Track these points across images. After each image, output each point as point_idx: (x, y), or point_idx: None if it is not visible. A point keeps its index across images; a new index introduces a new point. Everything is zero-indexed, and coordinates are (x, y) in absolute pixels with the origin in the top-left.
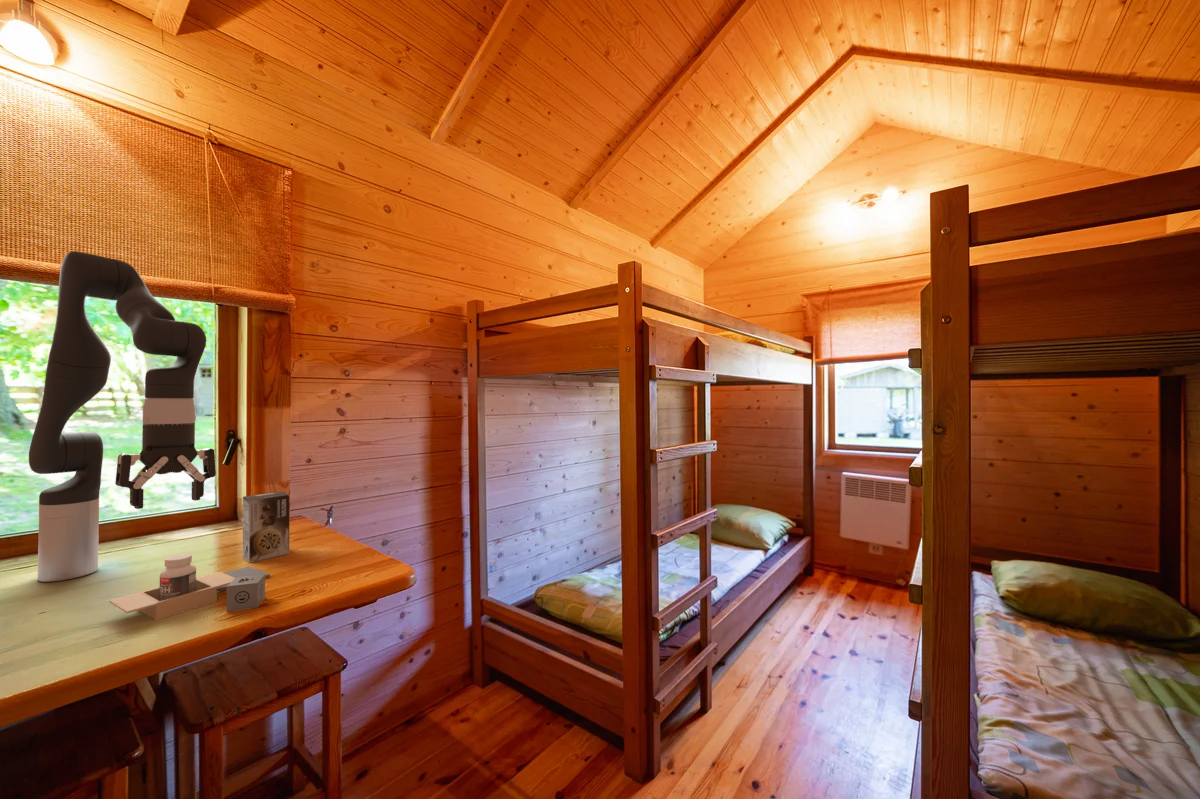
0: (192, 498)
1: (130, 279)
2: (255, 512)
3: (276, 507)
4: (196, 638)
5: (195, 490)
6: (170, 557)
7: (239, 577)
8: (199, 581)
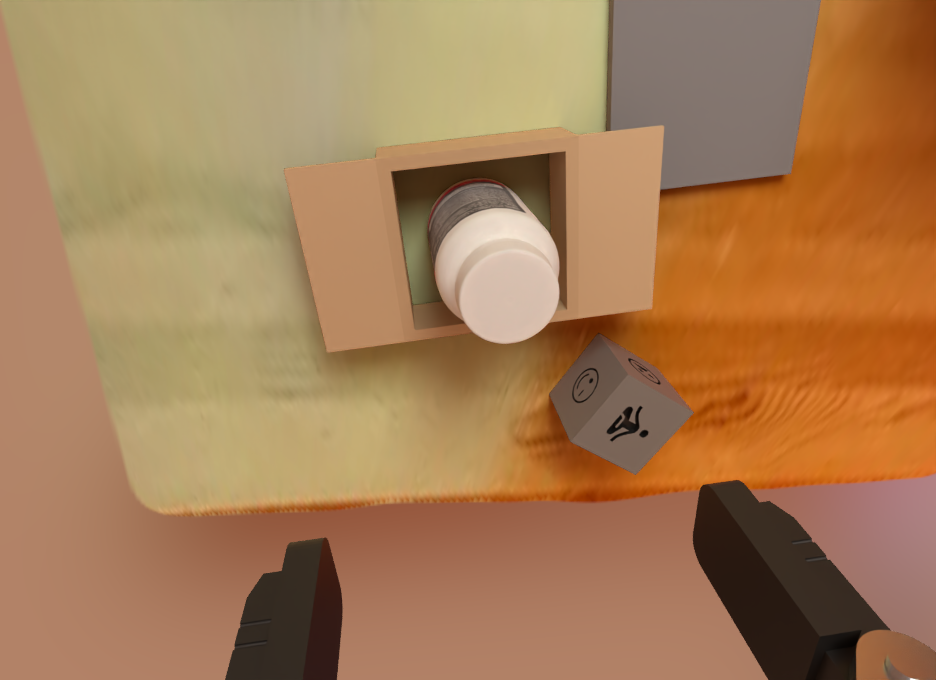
0: (707, 499)
1: None
2: None
3: None
4: (446, 501)
5: (743, 619)
6: (483, 281)
7: (632, 385)
8: (565, 204)
